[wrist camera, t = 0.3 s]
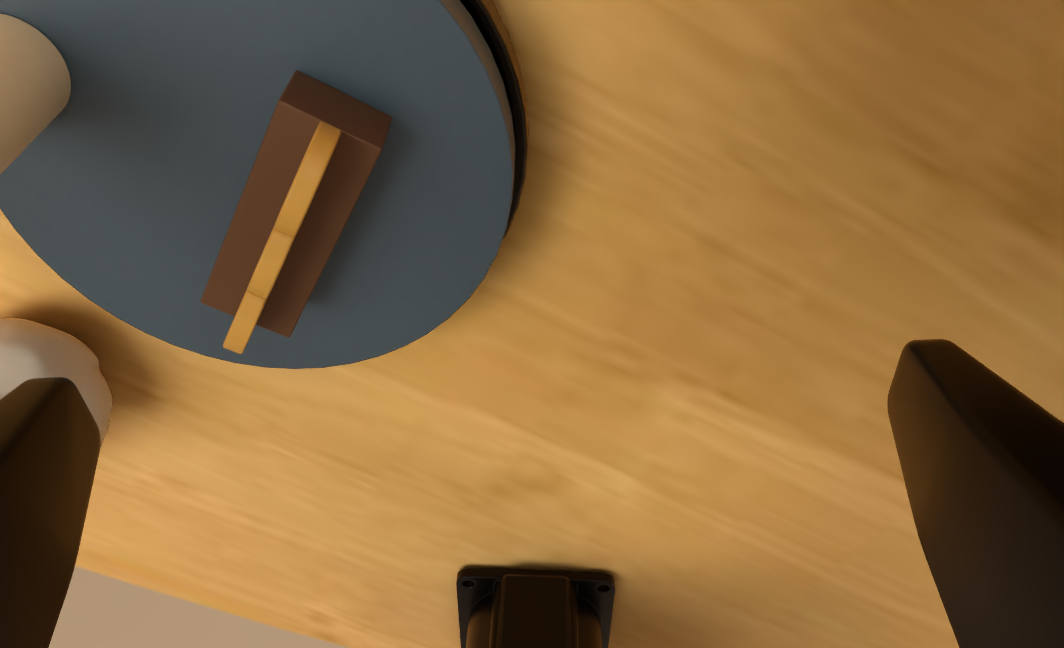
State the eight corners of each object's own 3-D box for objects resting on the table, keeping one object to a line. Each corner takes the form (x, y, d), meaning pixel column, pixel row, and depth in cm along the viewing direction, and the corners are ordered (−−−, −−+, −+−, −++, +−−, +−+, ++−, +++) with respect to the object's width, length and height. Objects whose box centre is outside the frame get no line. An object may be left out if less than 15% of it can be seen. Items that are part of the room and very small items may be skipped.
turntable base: (526, 329, 28) (525, 350, 27) (90, 316, 28) (77, 337, 28) (532, -165, 19) (530, -154, 18) (-108, -178, 19) (-136, -168, 19)
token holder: (615, 51, 21) (647, 355, 13) (393, 400, 28) (323, 730, 20) (22, -281, 17) (-491, -154, 9) (-49, 227, 25) (-357, 547, 16)
